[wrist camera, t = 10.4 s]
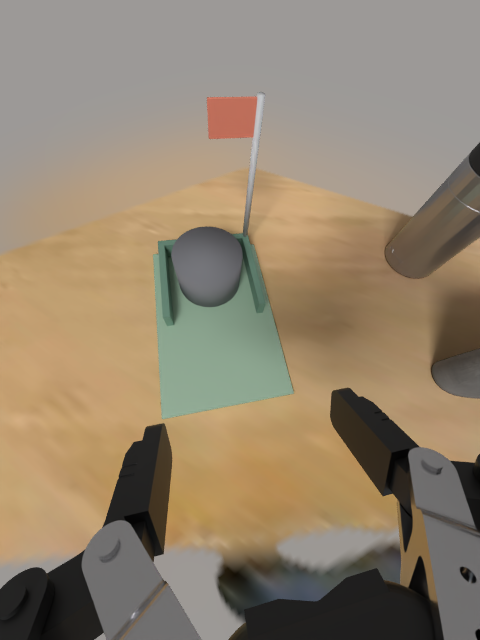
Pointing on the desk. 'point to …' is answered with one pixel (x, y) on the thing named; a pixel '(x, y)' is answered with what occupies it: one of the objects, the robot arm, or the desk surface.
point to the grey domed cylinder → (207, 265)
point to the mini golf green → (220, 309)
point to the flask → (459, 374)
